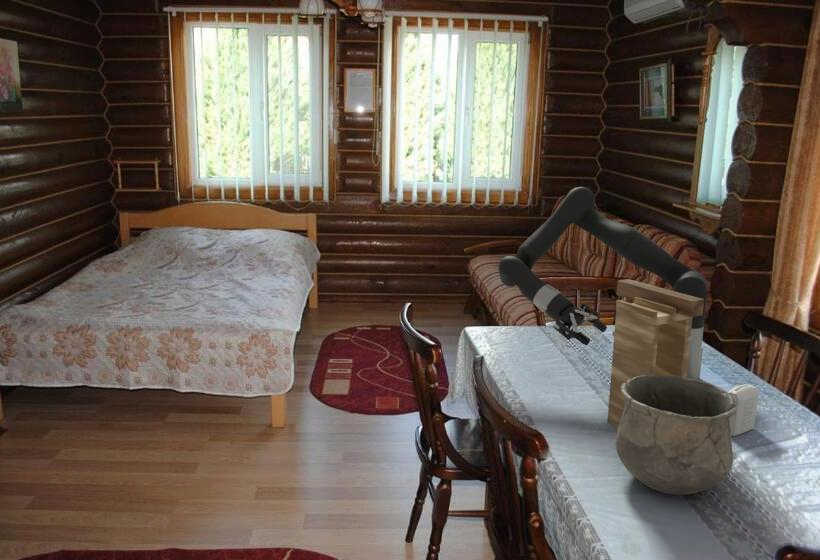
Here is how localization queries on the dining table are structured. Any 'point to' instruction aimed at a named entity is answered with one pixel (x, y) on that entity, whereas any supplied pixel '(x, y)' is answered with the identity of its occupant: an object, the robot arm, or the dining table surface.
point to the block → (661, 297)
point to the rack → (646, 346)
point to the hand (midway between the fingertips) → (597, 336)
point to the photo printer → (744, 408)
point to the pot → (675, 433)
